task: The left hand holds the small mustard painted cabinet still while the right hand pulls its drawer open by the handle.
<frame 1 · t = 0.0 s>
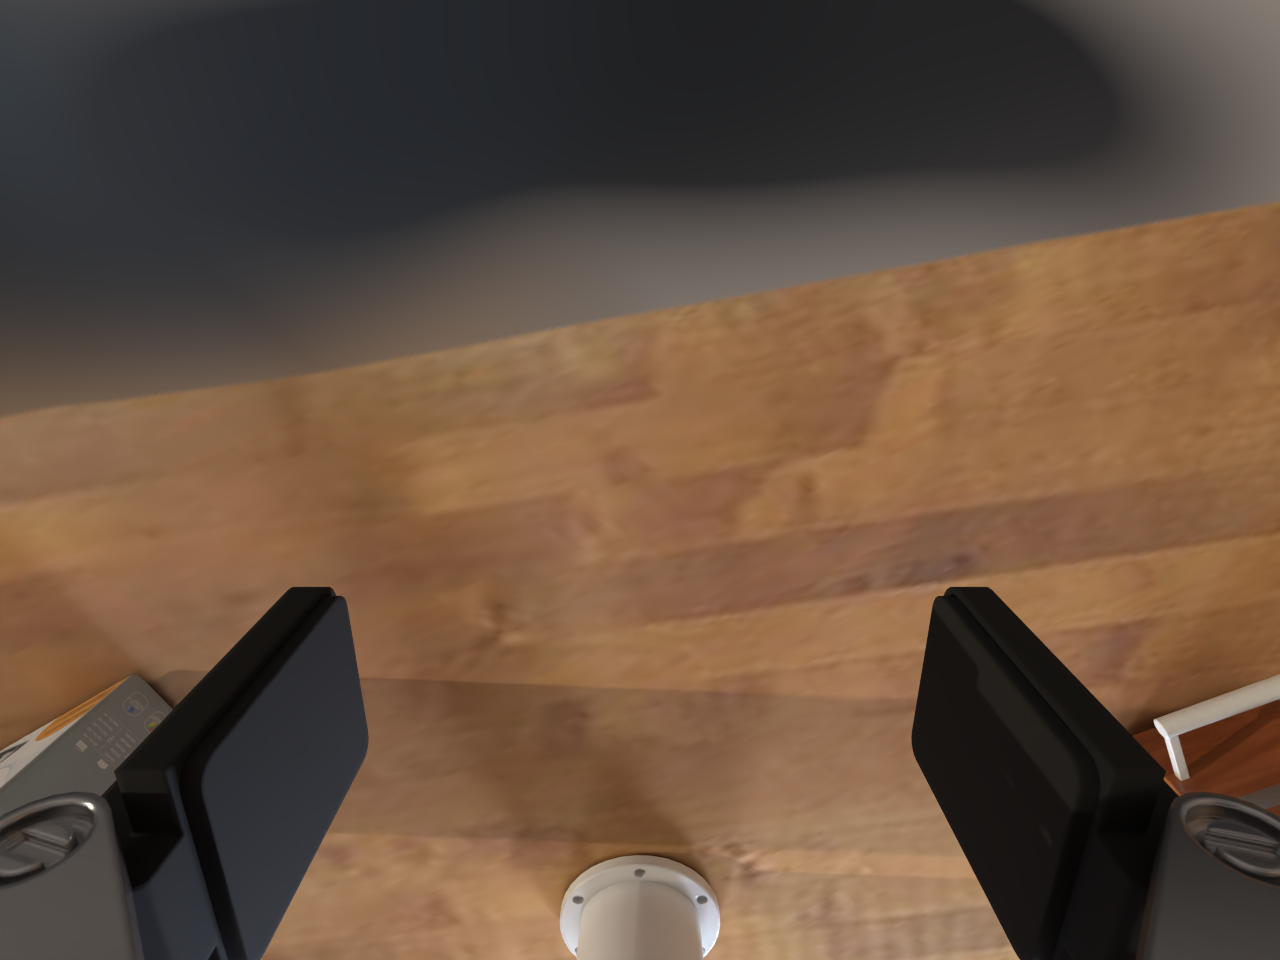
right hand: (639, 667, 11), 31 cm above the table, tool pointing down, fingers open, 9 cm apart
drawer: (1260, 816, 45), point 5 cm above the table, slide at 0.5 cm
hard drive box: (98, 750, 50), on the table
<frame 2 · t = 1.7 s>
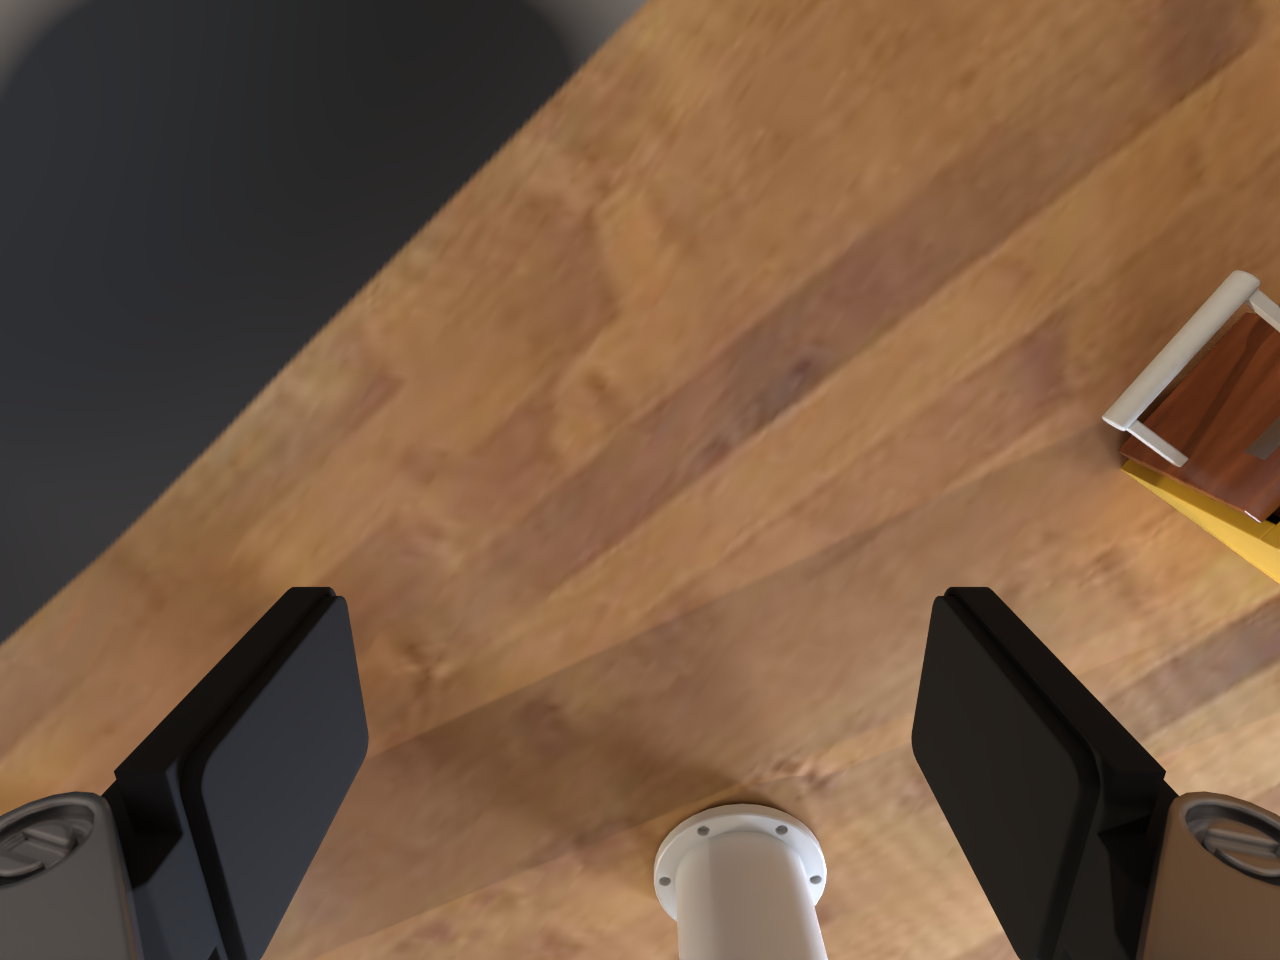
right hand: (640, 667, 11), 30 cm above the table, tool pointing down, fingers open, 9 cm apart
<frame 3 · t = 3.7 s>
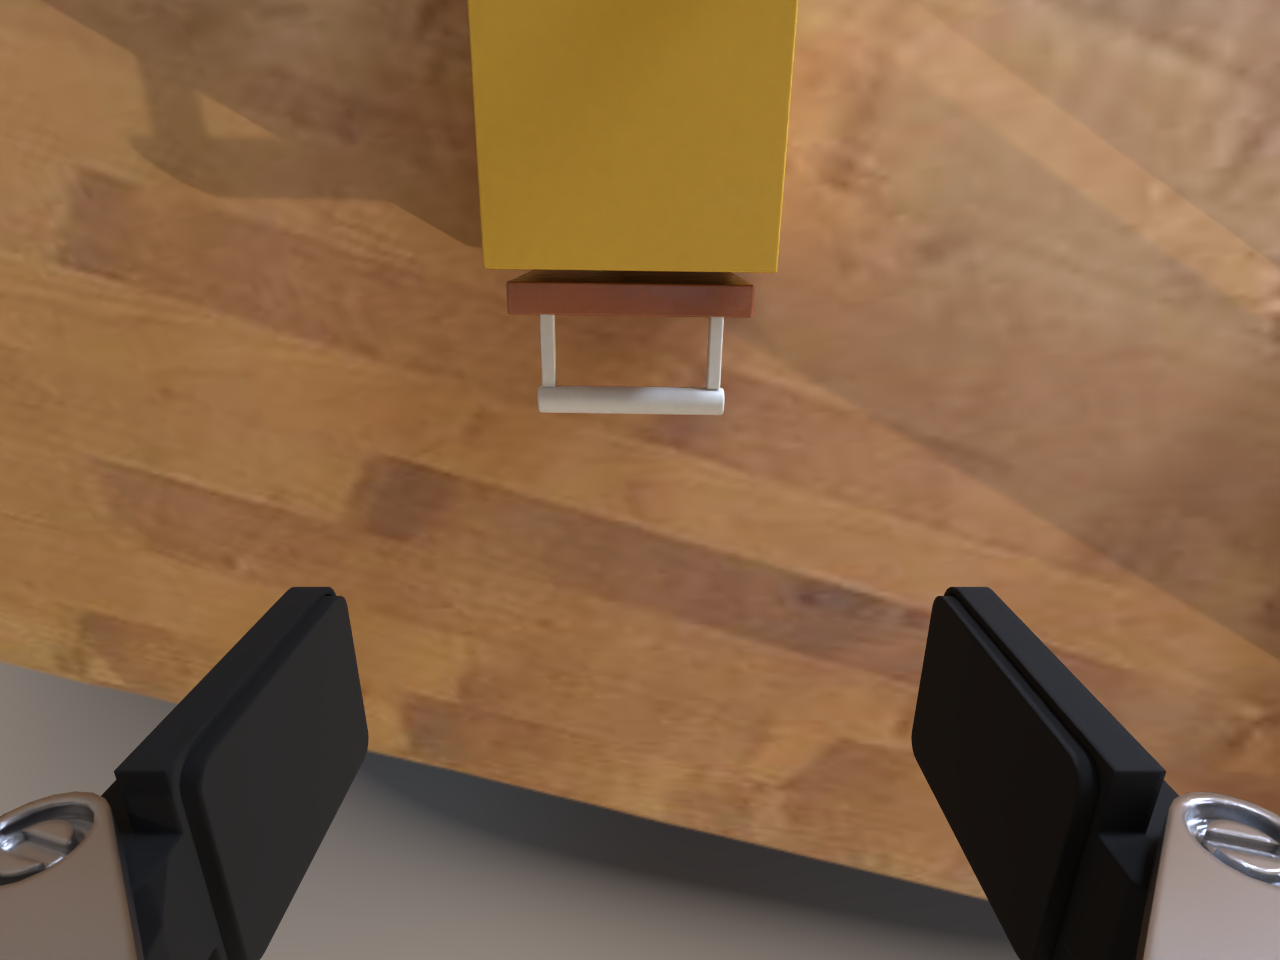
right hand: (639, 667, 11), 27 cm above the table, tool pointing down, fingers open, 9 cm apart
cabinet: (635, 68, 32), on the table, touching left hand
drawer: (633, 175, 29), point 5 cm above the table, slide at 0.5 cm
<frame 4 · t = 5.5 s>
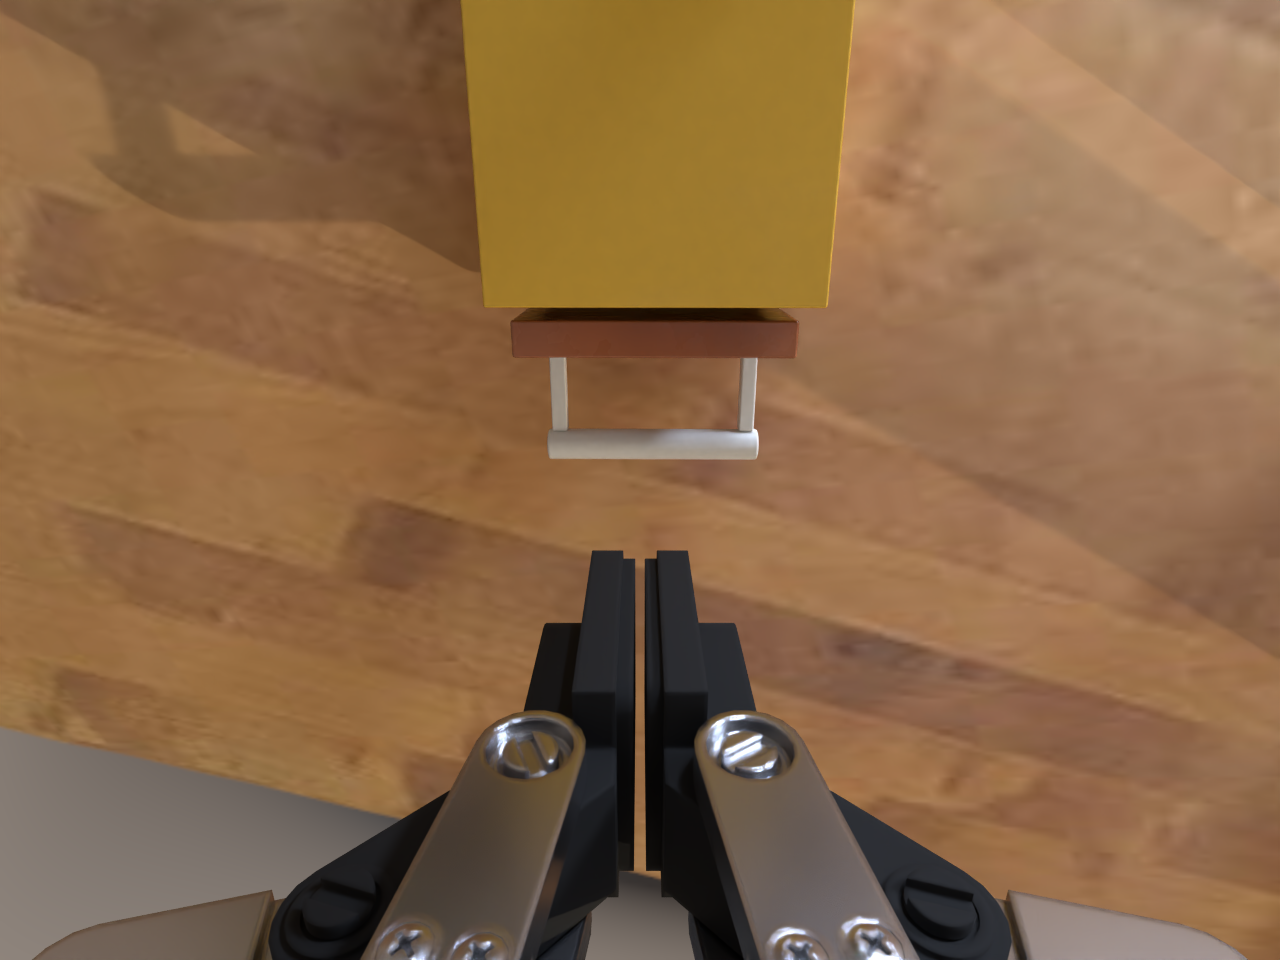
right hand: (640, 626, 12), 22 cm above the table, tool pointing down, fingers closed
cabinet: (654, 69, 29), on the table, touching left hand
drawer: (654, 192, 25), point 5 cm above the table, slide at 0.5 cm
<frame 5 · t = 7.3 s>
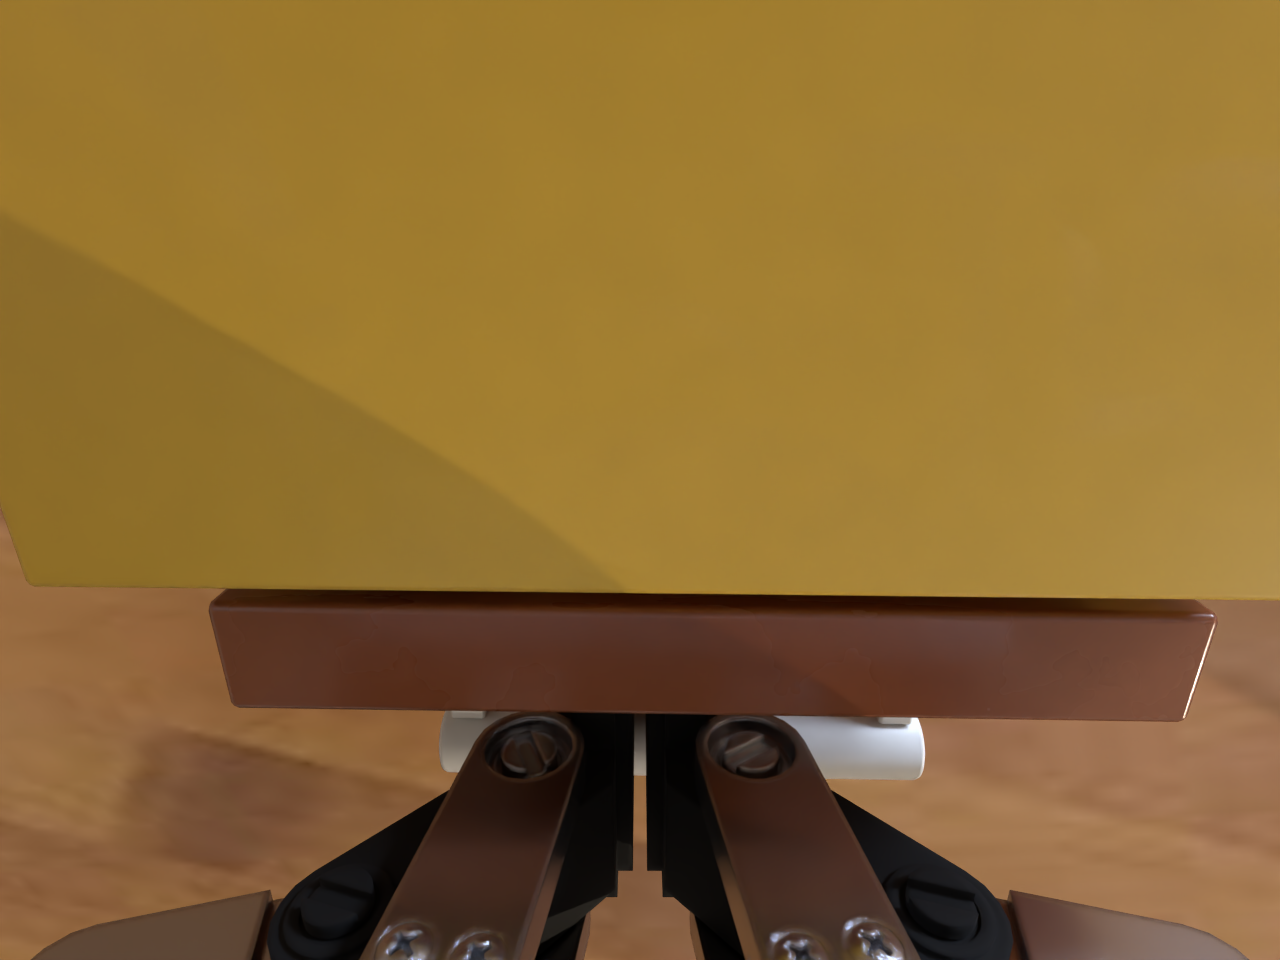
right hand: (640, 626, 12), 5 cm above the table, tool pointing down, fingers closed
drawer: (693, 168, 9), point 5 cm above the table, slide at 0.7 cm
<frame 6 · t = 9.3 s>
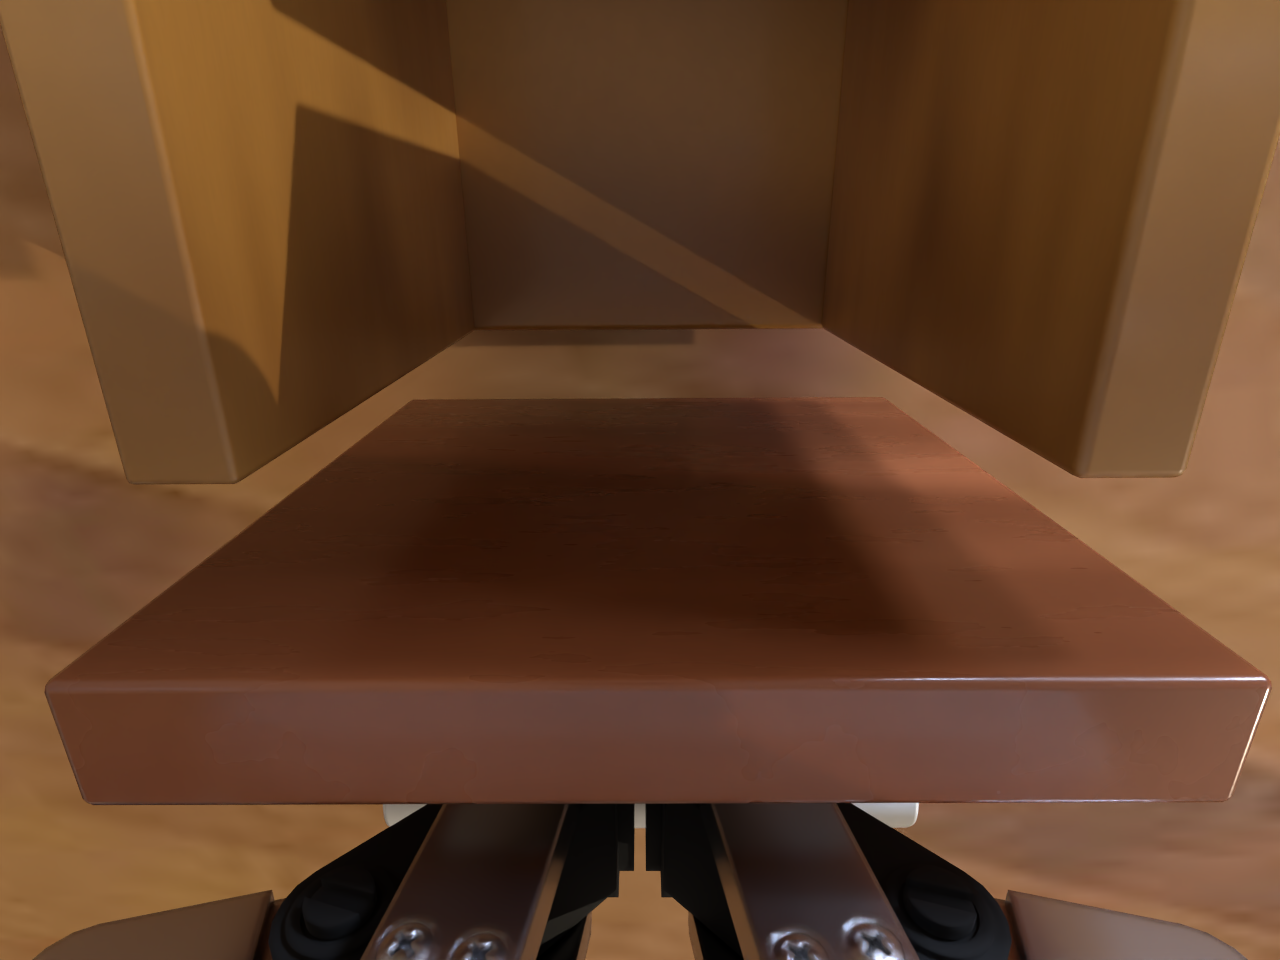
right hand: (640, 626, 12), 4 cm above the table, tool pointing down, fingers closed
drawer: (649, 154, 8), point 5 cm above the table, slide at 9.3 cm, touching right hand
when the left hand's fingers open (6 cm above the table, at t = 11.0 s): cabinet stays where it is, on the table.
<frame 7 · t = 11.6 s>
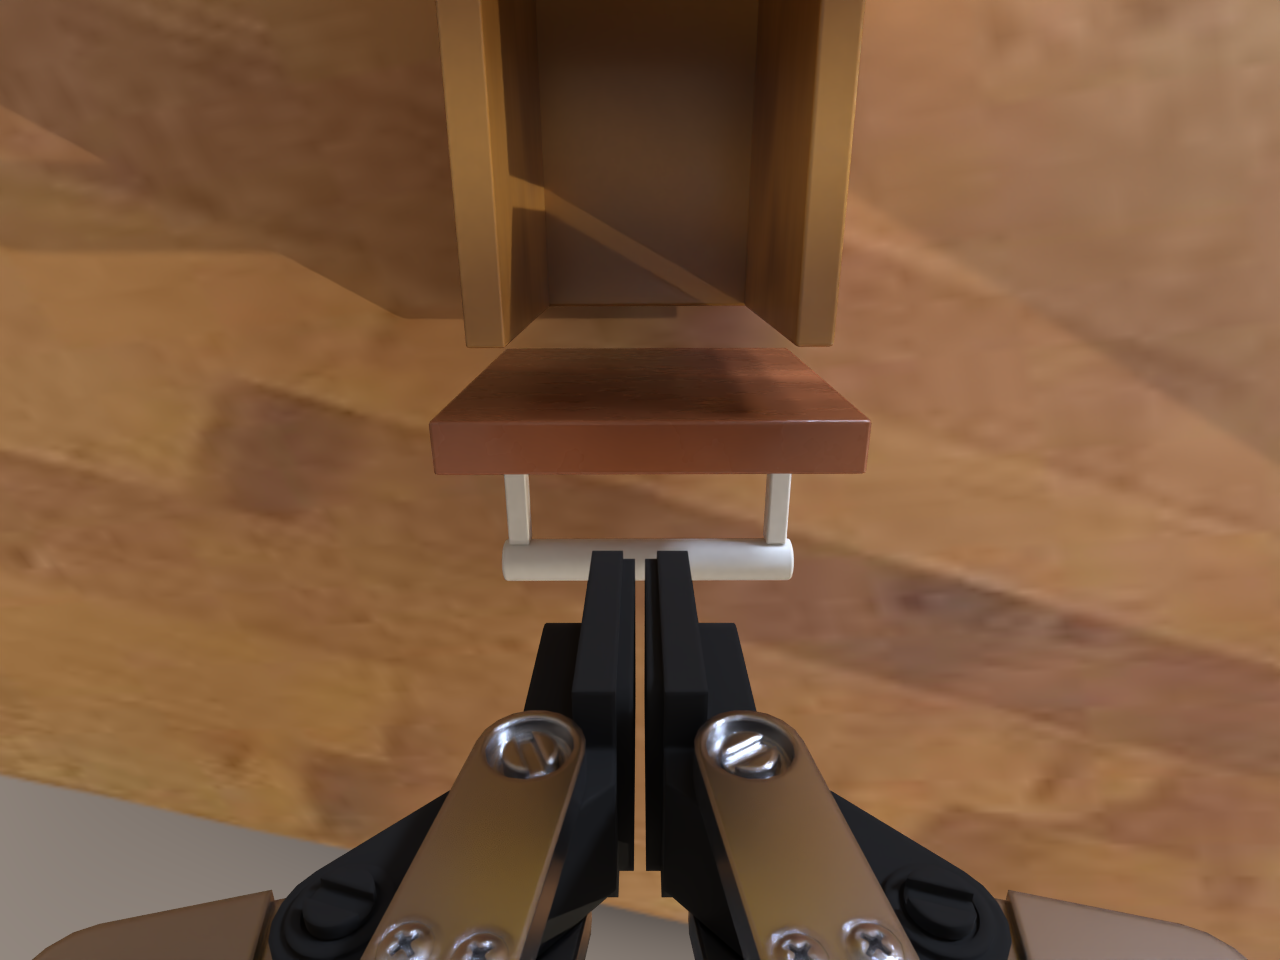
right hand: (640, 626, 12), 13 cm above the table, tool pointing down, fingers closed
drawer: (648, 219, 17), point 5 cm above the table, slide at 9.3 cm
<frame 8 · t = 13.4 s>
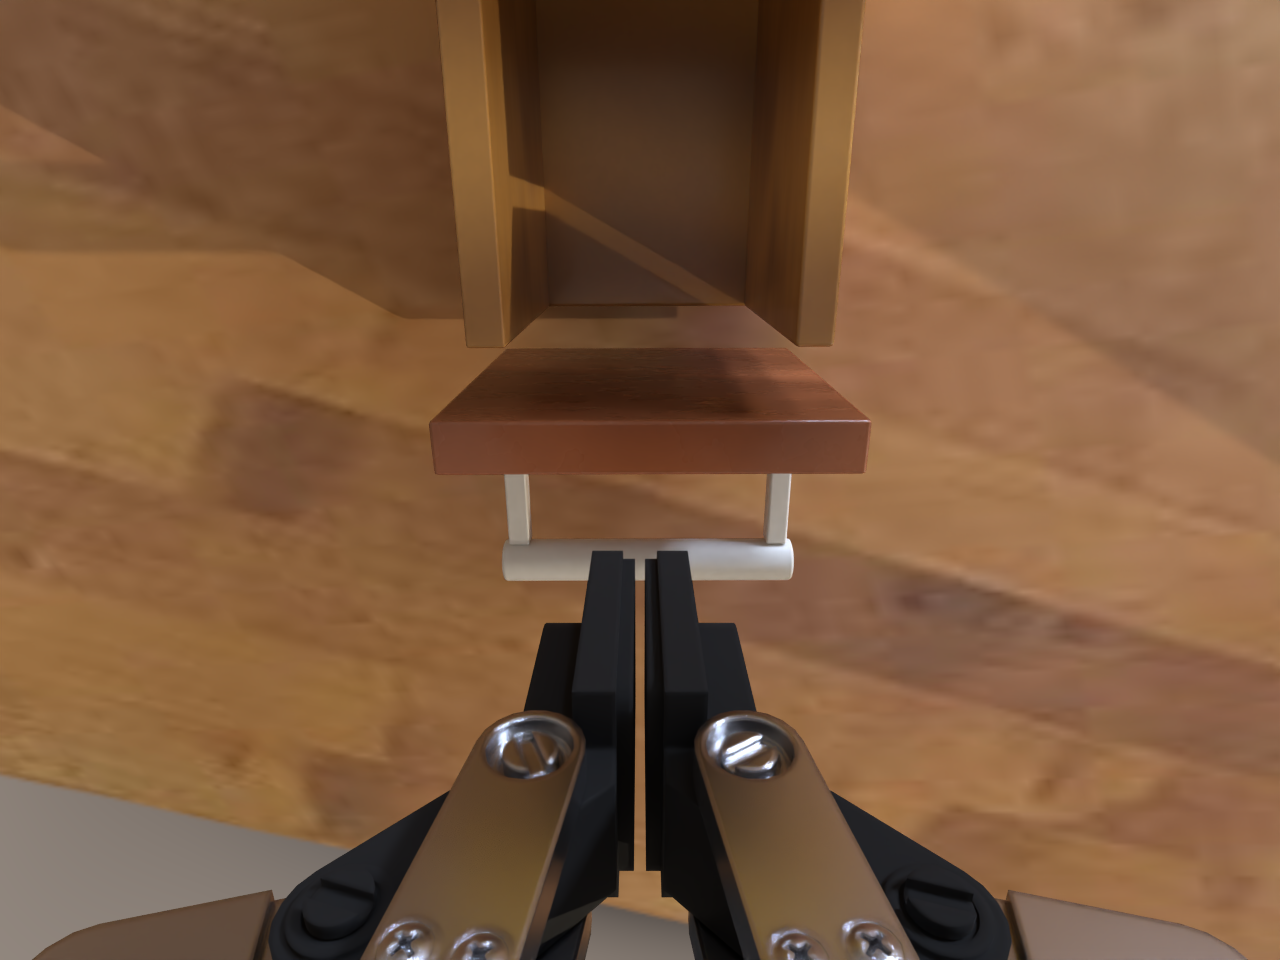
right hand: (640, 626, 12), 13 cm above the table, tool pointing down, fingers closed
drawer: (648, 219, 17), point 5 cm above the table, slide at 9.3 cm
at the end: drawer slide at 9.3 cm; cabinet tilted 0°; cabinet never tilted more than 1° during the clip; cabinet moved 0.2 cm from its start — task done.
